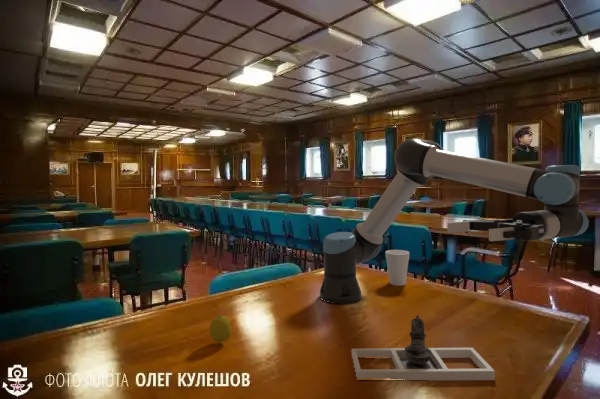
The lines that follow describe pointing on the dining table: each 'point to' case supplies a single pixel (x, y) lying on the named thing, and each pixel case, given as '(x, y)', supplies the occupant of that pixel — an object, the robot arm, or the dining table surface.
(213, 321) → the lemon
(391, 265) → the foam cup
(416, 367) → the dark chess piece
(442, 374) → the pocket rack
